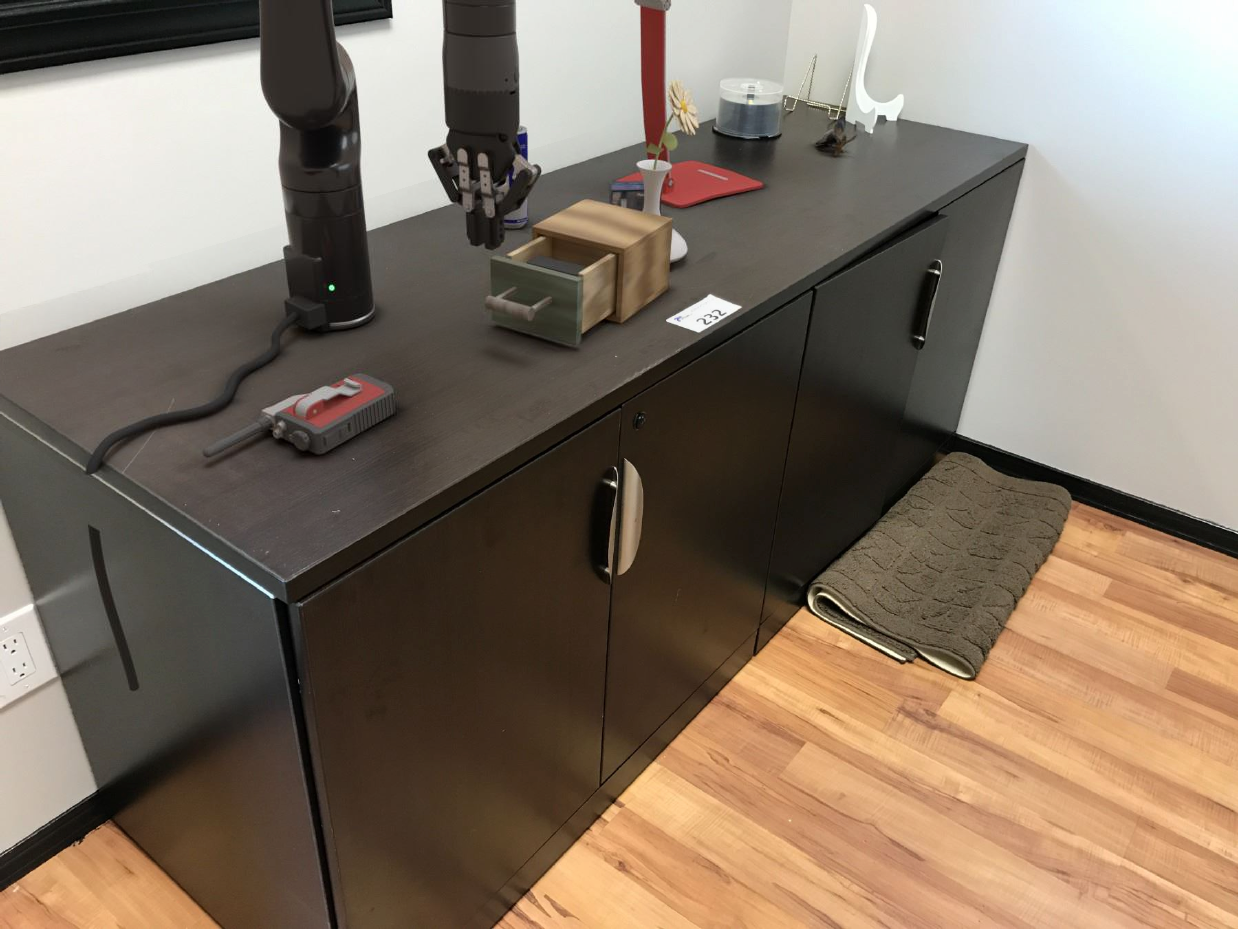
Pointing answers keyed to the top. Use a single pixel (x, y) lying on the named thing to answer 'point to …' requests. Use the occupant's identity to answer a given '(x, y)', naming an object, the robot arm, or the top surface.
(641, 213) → the cabinet
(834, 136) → the eagle figurine
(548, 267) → the small black box
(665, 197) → the desk lamp
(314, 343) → the top surface
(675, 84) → the flower in vase
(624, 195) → the mini dv tape
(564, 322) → the drawer
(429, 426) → the top surface
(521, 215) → the beverage can
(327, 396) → the walkie-talkie
